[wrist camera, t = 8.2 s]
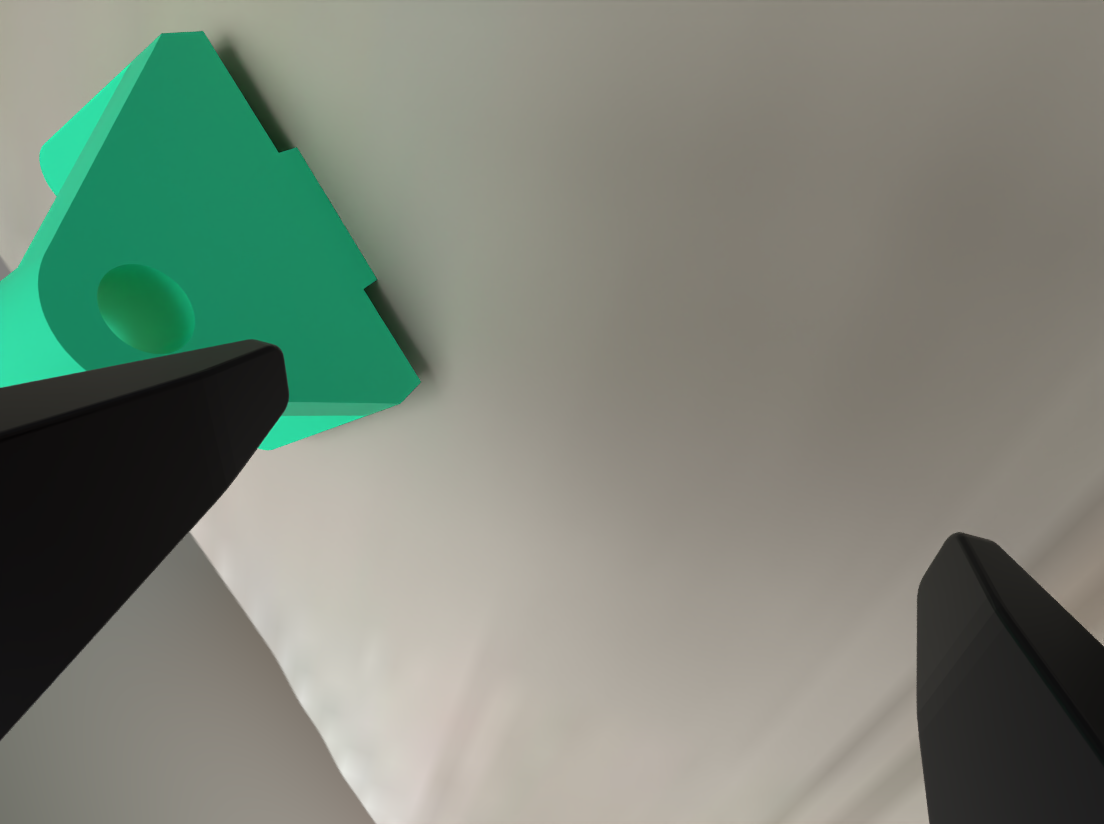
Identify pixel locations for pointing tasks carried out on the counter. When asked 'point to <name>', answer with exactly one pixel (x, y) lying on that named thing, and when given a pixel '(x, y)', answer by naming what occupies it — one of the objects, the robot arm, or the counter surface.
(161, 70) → the camera mount
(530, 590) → the counter surface
